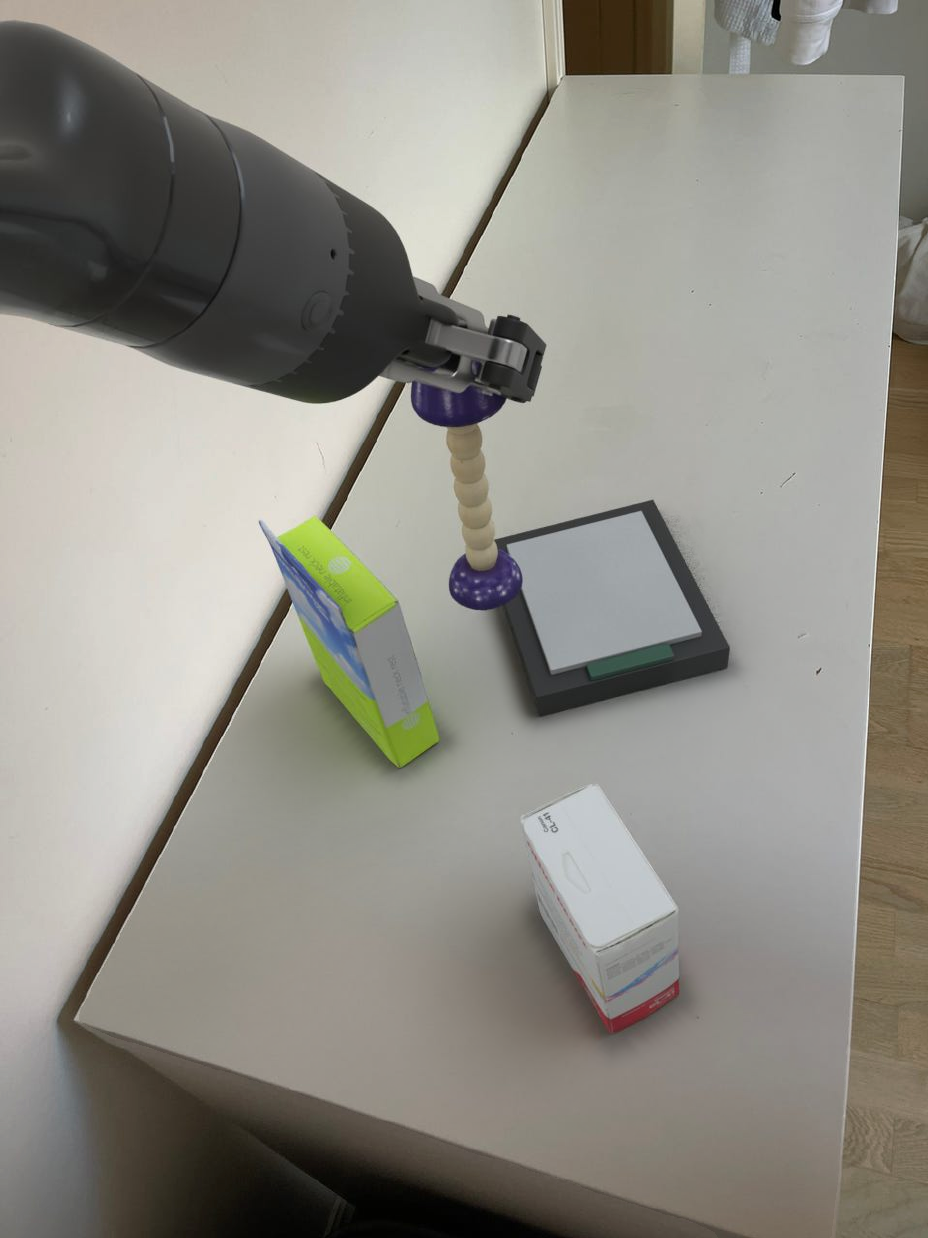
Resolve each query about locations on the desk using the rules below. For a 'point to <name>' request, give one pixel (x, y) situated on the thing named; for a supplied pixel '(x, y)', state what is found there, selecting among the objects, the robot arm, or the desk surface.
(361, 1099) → the desk surface
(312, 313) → the robot arm
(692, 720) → the desk surface
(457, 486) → the toy lamp
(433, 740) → the box
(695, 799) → the desk surface
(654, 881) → the ink box
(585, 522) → the scale
